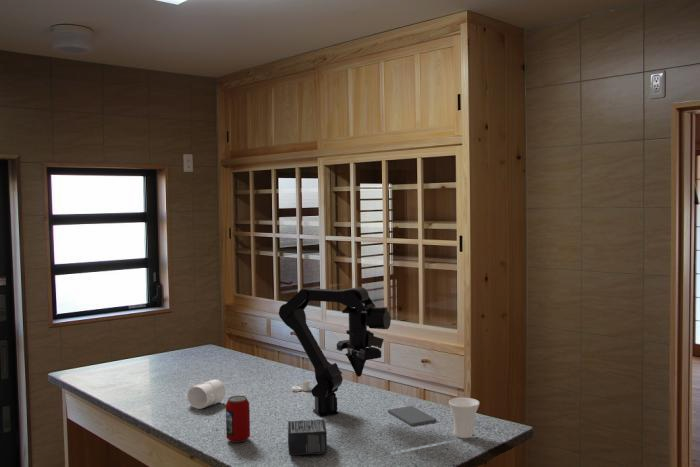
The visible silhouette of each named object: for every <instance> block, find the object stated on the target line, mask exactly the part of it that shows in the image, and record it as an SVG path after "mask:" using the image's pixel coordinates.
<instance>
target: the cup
mask: <svg viewBox="0 0 700 467" xmlns="http://www.w3.org/2000/svg"><path fill="white" fill-rule="evenodd" d="M480 403H481V402H480V401H479V400H477V399H475V398H471V397H455V398H451V399H450V400H449V401H448V404H449V406H450V410H451V415H452V418H453V420H452V421H453V435H454V437H456V438H460V439H469V438H472V437H473V435H474V423H475V422H474V420H475V418H476V415H477V411H478V409H479V407H480Z"/></svg>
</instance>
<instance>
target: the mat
mask: <svg viewBox="0 0 700 467" xmlns="http://www.w3.org/2000/svg"><path fill="white" fill-rule="evenodd" d="M387 413H388V414H389V415H391V416H393V417H395V418H397V419H399V420H401V421H402V422H403V423H405V424H406V425H408V426H410V427H414V426H419V425H424V424H425V425H426V424H429V423H430V424H431V423H436V422H437V418H435V417H434V416H432V415H430V414H427V413H425V412H424V411H423V410H421V409H419V408H417V407H415V406H412V405H408V406H404V407H397V408H391V409H387Z"/></svg>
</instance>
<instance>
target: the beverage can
mask: <svg viewBox="0 0 700 467" xmlns="http://www.w3.org/2000/svg"><path fill="white" fill-rule="evenodd" d="M250 417H251V415H250V402H249V400H248V398H247V396H246V395H233V396H229V397H228V398H227V401H226V403H225V423H226V424H225V427H226V428H225V431H226V439H227V440H229V441H230V442H233V443H242V442H245V441H247V440H248V439H249V438H250V436H251V420H250V419H251V418H250Z"/></svg>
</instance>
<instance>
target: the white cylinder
mask: <svg viewBox="0 0 700 467" xmlns="http://www.w3.org/2000/svg"><path fill="white" fill-rule="evenodd" d="M225 396H226V388H225V386H224V384H223V382H222V381H221V380H219V379H211V380H208V381H205V382H201V383H198V384H195V385H193V386H192V387H189V389H188V391H187V400H188V402H189V404H190V406H192V407H193V408H195V409H198V410H201V409H204V408H206V407H209V406H214V405H216V404H218V403H221V402H223V401H224V400H225Z"/></svg>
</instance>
